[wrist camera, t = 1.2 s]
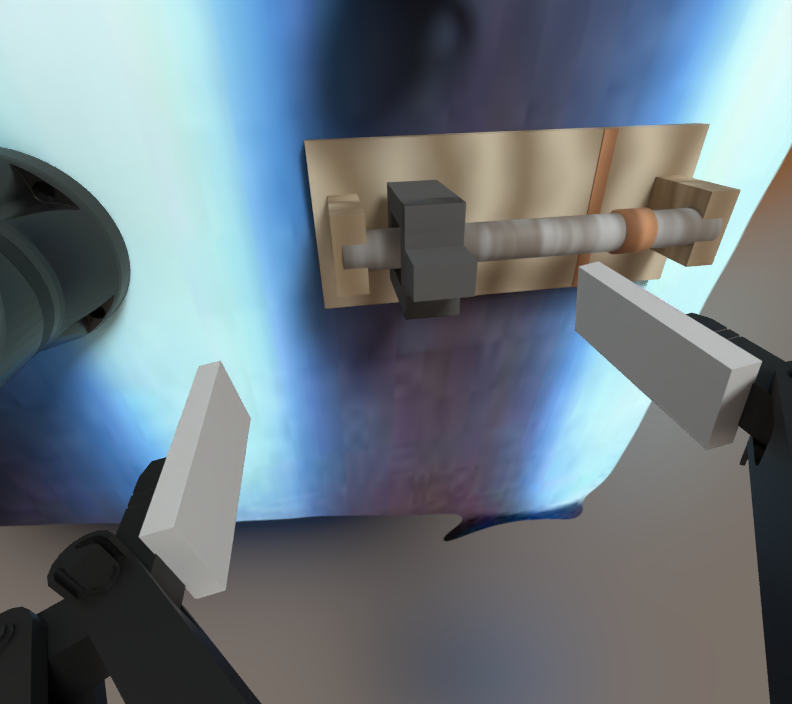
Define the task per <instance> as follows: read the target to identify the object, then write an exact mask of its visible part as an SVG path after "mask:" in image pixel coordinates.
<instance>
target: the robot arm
mask: <svg viewBox="0 0 792 704" xmlns="http://www.w3.org/2000/svg"><path fill="white" fill-rule="evenodd" d="M129 279H130V262H129V256H128V252H127V248H126V245H125V242H124V240H123V237H122V235H121V233H120V231H119V229H118V227H117V226H116V224H115V222H114V221H113V219H112V218H111V216H110V215H109V213H108V212H107V211H106V209H105V208H104V207H103V206H102V205H101V204H100V202H99V201H98V200H97V199H96V198H95V197H94V196H93V195H92V194H91V193H90V192H89V191H88V190H87V189H85V188H84V187H83V186H82V185H81V184H79V183H78V182H77V181H75V180H74V179H73V178H71V177H70V176H68V175H67V174H66V173H64V172H62V171H61V170H59V169H57V168H56V167H54V166H52V165H50V164H48V163H46V162H44V161H42V160H40V159H38V158H35V157H33V156H30V155H27V154H24V153H21V152H18V151H15V150H11V149H6V148H1V147H0V389H1V388H2V387H3V386H4V385H5V384H6V383H7V382H8V381H9V380H10V379H11V378H12V377H13V376H14V375H15V374H16V373H17V372H18V371H19V370H20V369H21V368H23V367H24V366H25V365H26V364H27V363H28V362H29V361H30V360H31V359H32V358H33V357H34V356H35V355H36V354H37V353H38V352H41V351H44V350H47V349H49V348H52V347H55V346H58V345H61V344H64V343H67V342H70V341H72V340H75V339H78V338H80V337H83V336H85V335H87V334H89V333H90V332H92V331H94V330H95V329H97V328H98V327H99V326H101V325H102V324H103V323H104V322H105V321H106V320H107V319H108V318H109V317H110V316H111V314H112V313H113V312H114V311H115V310H116V309H117V308H118V306H119V305H120V304H121V302H122V300H123V299H124V297H125V294H126V292H127V289H128V285H129ZM575 331H576V332H577V333H578V334H580V335H581V336H582V337H583V338H584V339H585V340H586V341H587V342H588V343H589V344H590V345H592V346H593V347H594V348H595V349H596V350H597V351H598V352H599V353H600V354H601V355H603V356H604V357H605V358H606V359H607V360H608V361H609V362H610V363H611V364H612V365H613V366H615V367H616V368H617V369H618V370H619V371H620V372H621V373H622V374H623V375H624V376H626V377H627V378H628V379H629V380H630V381H631V382H632V383H633V384H634V385H635V386H636V387H638V388H639V389H640V390H641V391H642V392H643V393H644V394H645V395H646V396H647V397H649V398H650V399H651V400H652V401H653V402H654V403H655V404H656V405H657V406H658V407H659V408H661V409H662V410H663V411H664V412H665V413H666V414H667V415H668V416H669V417H670V418H672V419H673V420H674V421H675V422H676V423H677V424H678V425H679V426H680V427H681V428H683V429H684V430H685V431H686V432H687V433H688V434H689V435H690V436H691V437H692V438H693V439H695V440H696V441H697V442H698V443H699V444H700V445H701V446H702V447H703V448H705V450H709V449H712V448H716V447H719V446H723V445H726V444H730V443H733V440H734V437H735V435H736V432H737V429H738V427H739V426H740V427H741V428H742V429H743V430H745V431H746V432H747V433H749V434H750V438H749V440H748V442H747V445H746V448H745V450H744V453H743V455H742V458H741V461H740V465H745V464H746V461H747V460H749V472H750V483H751V493H752V505H753V517H754V527H755V539H756V550H757V561H758V572H759V582H760V595H761V606H762V617H763V628H764V639H765V651H766V662H767V673H768V684H769V695H770V704H792V361H788V362H785V361H783V360H782V359H780V358H778V357H776V356H775V355H773V354H771V353H770V352H768V351H766V350H765V349H763V348H761V347H759V346H758V345H756V344H754V343H752V342H751V341H749V340H747V339H746V338H744V337H740V336H739V334H737V333H735V332H734V331H732V330H730V329H729V330H727V328H726V327H725V326H723V325H721V324H720V323H718V322H716V321H715V320H713V319H711V318H708V317H704V316H701V315H698V314H695V313H689V314H684V313H682V312H681V311H679V310H678V309H676V308H674V307H673V306H671V305H669V304H668V303H666V302H664V301H663V300H661V299H659V298H658V297H656V296H655V295H653V294H651V293H650V292H648V291H646V290H645V289H643V288H641V287H640V286H638V285H637V284H635V283H633V282H632V281H630V280H628V279H627V278H625V277H623V276H622V275H620V274H618V273H617V272H615V271H614V270H612V269H610V268H609V267H607V266H605V265H604V264H602V263H600V262H599V261H598V262H594V263H590V264H586V265H582V266H579V268H578V286H577V304H576V322H575ZM250 419H251V418H250V416H249V414H248V412H247V410H246V409H245V407H244V405H243V403H242V401H241V399H240V397H239V395H238V393H237V391H236V389H235V387H234V385H233V384H232V382H231V380H230V378H229V376H228V374H227V372H226V370H225V368H224V366H223V364H222V362H221V361H217V362H214V363H210V364H206V365H202V366H199V367H198V370H197V373H196V375H195V378H194V381H193V384H192V387H191V390H190V393H189V395H188V398H187V401H186V404H185V407H184V410H183V412H182V415H181V418H180V421H179V424H178V427H177V429H176V432H175V435H174V438H173V441H172V444H171V447H170V449H169V452H168V455H167V457H166V458H162V459H158V460H155V461H152V462H151V463H150V464H149V465H148V467H147V468H146V469H145V470H144V472H143V473H142V474H141V475H140V477H139V479H138V481H137V484H136V486H135V489H134V491H133V496H131V499H130V501H129V504H128V509H126V511H125V513H124V516H123V518H122V521H121V523H120V526H119V529H118V531H117V533H116V536H115V535H114V534H113V533H111V532H109V531H107V530H102V531H101V530H100V531H95V532H92V533H89V534H87V535H84V536H83V537H81V538H79V539H78V540H77V541H75V542H73V543H72V544H71V545H69V546H68V547H67V548H66V549H65V550H64V551H63V552H62V553H61V554H60V555H59V556H58V558H57V559H56V560H55V562H54V563H53V564H52V566H51V569H50V571H49V574H48V576H47V579H48V586H49V587H50V588H52V589H53V590H54V591H56V592H57V593H58V594H59V595H61V596H62V597H63V598H64V599H63V600H62V601H60V602H58V603H56V604H54V605H53V606H51V607H49V608H47V609H45V610H44V611H42V612H40V613H38V614H35V613H33V612H32V611H30V610H29V609H26V608H24V607H17V608H12V609H9V610H7V611H5V612H3V613H1V614H0V704H107V697H106V688H105V680H104V679H106V678H107V677H109V676H111V678H112V679H113V681H114V683H115V685H116V687H117V689H118V691H119V693H120V695H121V696H122V698H123V700H124V702H125V704H261V703H260V701H259V700H258V699H257V698H256V696H255V695H254V694H253V693H252V692H251V690H250V689H249V688H248V686H247V685H246V684H245V683H244V681H243V680H242V679H241V678H240V676H239V675H238V674H237V673H236V671H235V670H234V669H233V667H232V666H231V665H230V664H229V663H228V661H227V660H226V659H225V657H224V656H223V655H222V654H221V652H220V651H219V650H218V649H217V647H216V646H215V645H214V644H213V642H212V641H211V640H210V639H209V637H208V636H207V635H206V633H205V632H204V631H203V630H202V628H201V627H200V626H199V625H198V623H197V622H196V621H195V620H194V618H193V617H192V616H191V615H190V613H189V612H188V611H187V610H186V609H185V607H184V606H183V605H182V599H183V595H184V591H185V588H186V589H187V590H188V591H189V592H190V593H191V595H192V596H193V597H194V598H195V599H198V598H201V597H205V596H208V595H211V594H215V593H218V592H221V591H225V590H226V584H227V576H228V570H229V563H230V557H231V549H232V542H233V535H234V529H235V522H236V515H237V508H238V501H239V495H240V488H241V481H242V474H243V467H244V460H245V453H246V446H247V439H248V433H249V426H250Z"/></svg>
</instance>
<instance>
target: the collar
mask: <svg viewBox="0 0 792 704" xmlns="http://www.w3.org/2000/svg"><path fill="white" fill-rule="evenodd" d="M387 202H388V228H398V227H400V240H401V268H399V269H390V280H391V282H392V285H393V287H394V290H395V293H396V295H397V298H398V300H399V303H400V306H401V308H402V311H403V313H404V316H405V319H406V320H408V319H419V318H429V317H440V316H450V315H459V313H460V298H464V297H475V289H476V276H477V264H478V260H477V259H476V258H475V257H474V256H473V255H472V254H471V253H470V252H469V251H468V250H467V249H466V247H465V246H464V232H465V215H466V202H465V201H464V200H463V199H461V198H460V197H459V196H457V195H456V194H455V193H453V192H452V191H451V190H450V189H448V188H447V187H446V186H444V185H443V184H442V183H440V182H439V181H438V180H421V181H402V182H387Z"/></svg>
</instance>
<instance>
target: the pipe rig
mask: <svg viewBox="0 0 792 704" xmlns="http://www.w3.org/2000/svg"><path fill="white" fill-rule="evenodd" d="M709 125H710V124H702V123H693V124H669V125H645V126H621V127H597V128H574V129H550V130H526V131H502V132H478V133H454V134H430V135H406V136H383V137H359V138H335V139H311V140H305V141H304V142H305V150H306V159H307V167H308V175H309V183H310V191H311V199H312V207H313V215H314V224H315V232H316V240H317V248H318V256H319V264H320V272H321V281H322V289H323V297H324V305H325V309H327V308H338V307H350V306H361V305H372V304H383V303H394V302H399V300H398V298H397V295H396V293H395V290H394V287H393V285H392V282H391V280H390V269H399V268H401V240H400V227H398V228H388V202H387V182H402V181H421V180H438V181H439V182H440V183H442V184H443V185H444V186H446V187H447V188H448V189H450V190H451V191H452V192H453V193H455V194H456V195H457V196H459V197H460V198H461V199H463V200H464V201H465V202H466V215H465V232H464V246H465V247H466V249H467V250H468V251H469V252H470V253H471V254H472V255H473V256H474V257H475V258H476V259H477V260H478V264H477V276H476V289H475V295H484V294H495V293H507V292H518V291H529V290H540V289H551V288H563V287H577V286H578V268H579V266H582V265H586V264H590V263H594V262H598V261H599V262H600V263H602V264H604V265H605V266H607V267H609V268H610V269H612V270H614V271H615V272H617V273H618V274H620V275H622V276H623V277H625V278H627V279H628V280H630V281H641V280H652V279H660V277H661V274H662V271H663V267H664V264H665V261H666V258H669V259H671V260H673V261H675V262H677V263H679V264H682V265H684V266H686V267H689V266H701V265H712V263H713V261H714V258H715V256H716V253H717V250H718V248H719V245H720V242H721V240H722V237H723V235H724V232H725V229H726V227H727V224H728V222H729V219H730V216H731V214H732V211H733V209H734V206H735V203H736V201H737V198H738V196H739V193H740V190H739V189H735V188H731V187H727V186H723V185H719V184H714V183H710V182H706V181H702V180H698V179H694V178H692V177H693V174H694V171H695V168H696V165H697V162H698V159H699V156H700V153H701V150H702V146H703V143H704V140H705V137H706V134H707V131H708V128H709Z"/></svg>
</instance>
